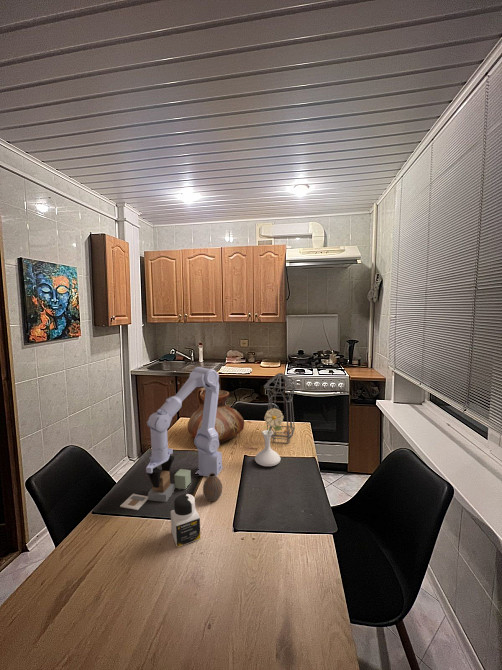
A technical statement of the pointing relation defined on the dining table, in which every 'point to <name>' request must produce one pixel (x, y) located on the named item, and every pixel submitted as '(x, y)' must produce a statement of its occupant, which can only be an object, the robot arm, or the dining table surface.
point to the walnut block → (163, 482)
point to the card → (134, 501)
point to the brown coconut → (212, 487)
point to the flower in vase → (267, 454)
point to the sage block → (182, 478)
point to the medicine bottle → (185, 520)
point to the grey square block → (161, 494)
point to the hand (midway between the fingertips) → (161, 481)
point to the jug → (217, 417)
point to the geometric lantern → (282, 401)
